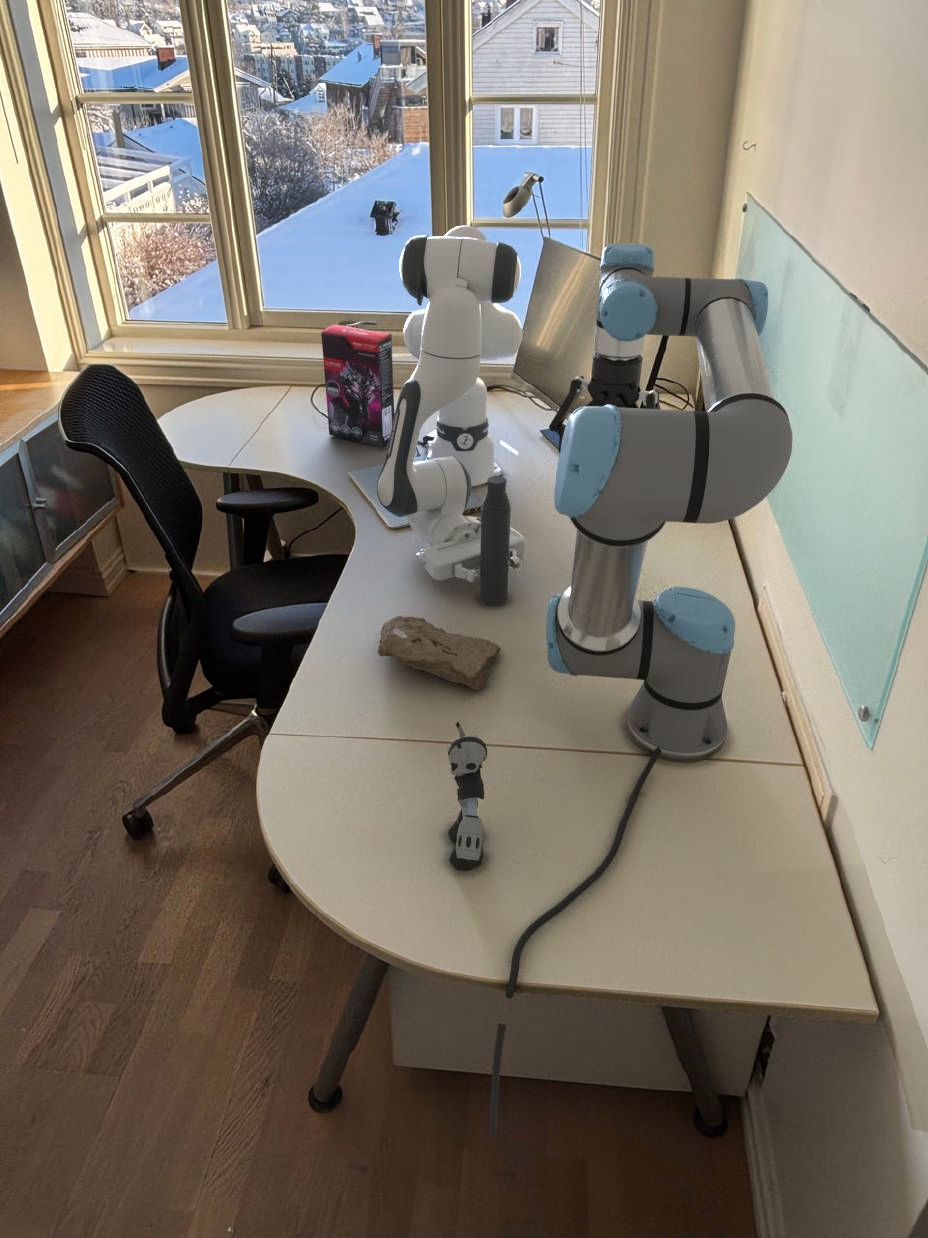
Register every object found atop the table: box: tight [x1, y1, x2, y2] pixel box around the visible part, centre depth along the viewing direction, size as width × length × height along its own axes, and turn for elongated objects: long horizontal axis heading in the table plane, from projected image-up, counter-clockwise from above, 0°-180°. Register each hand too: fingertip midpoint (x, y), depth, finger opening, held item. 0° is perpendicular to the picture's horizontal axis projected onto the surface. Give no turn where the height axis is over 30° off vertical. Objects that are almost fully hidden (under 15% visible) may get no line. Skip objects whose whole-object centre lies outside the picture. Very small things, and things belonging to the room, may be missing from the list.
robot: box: [447, 721, 488, 871], centre depth 117 cm, size 20×5×20 cm, turn 3°
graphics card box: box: [320, 324, 395, 448], centre depth 230 cm, size 17×7×27 cm, turn 62°
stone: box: [377, 615, 502, 691], centre depth 155 cm, size 21×15×6 cm
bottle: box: [479, 475, 512, 608], centre depth 167 cm, size 5×5×25 cm
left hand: (496, 571), depth 170 cm, fingers open, 8 cm apart
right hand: (605, 482), depth 151 cm, fingers open, 13 cm apart
